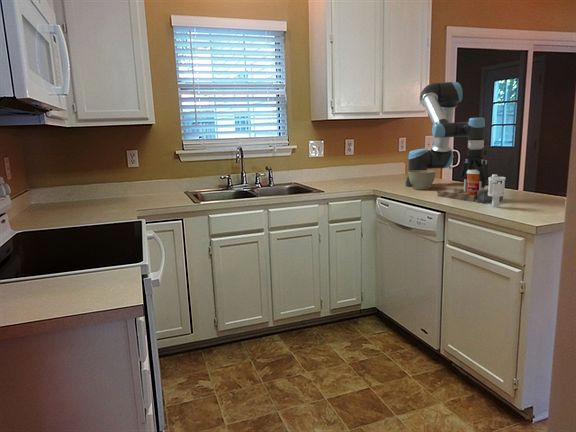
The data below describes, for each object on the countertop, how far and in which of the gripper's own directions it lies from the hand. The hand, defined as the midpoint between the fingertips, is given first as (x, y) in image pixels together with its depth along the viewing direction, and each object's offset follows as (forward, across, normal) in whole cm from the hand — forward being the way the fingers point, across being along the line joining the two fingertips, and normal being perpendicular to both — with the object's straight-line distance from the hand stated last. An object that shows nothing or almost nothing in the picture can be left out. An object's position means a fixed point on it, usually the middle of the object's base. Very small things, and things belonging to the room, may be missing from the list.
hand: (473, 192), depth 222 cm
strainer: (+4, +21, -10) cm, 24 cm away
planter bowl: (+4, -44, +6) cm, 45 cm away
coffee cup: (+4, 0, 0) cm, 4 cm away
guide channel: (+3, -3, 0) cm, 5 cm away
